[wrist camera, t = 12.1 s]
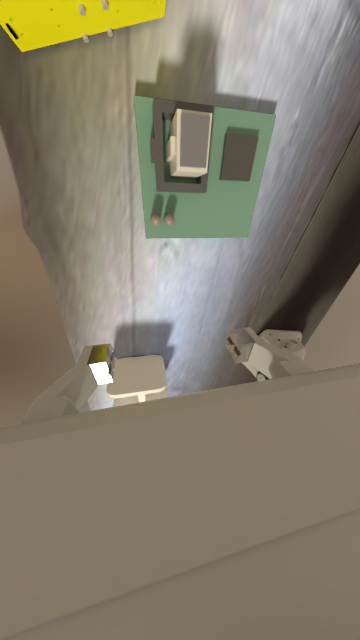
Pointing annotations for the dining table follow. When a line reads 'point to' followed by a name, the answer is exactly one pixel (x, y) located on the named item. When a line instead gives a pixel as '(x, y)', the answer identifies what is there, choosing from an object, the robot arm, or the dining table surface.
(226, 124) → the board
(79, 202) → the dining table surface
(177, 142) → the plug
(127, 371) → the cable organizer
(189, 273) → the dining table surface
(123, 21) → the yellow toy chassis
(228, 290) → the dining table surface
